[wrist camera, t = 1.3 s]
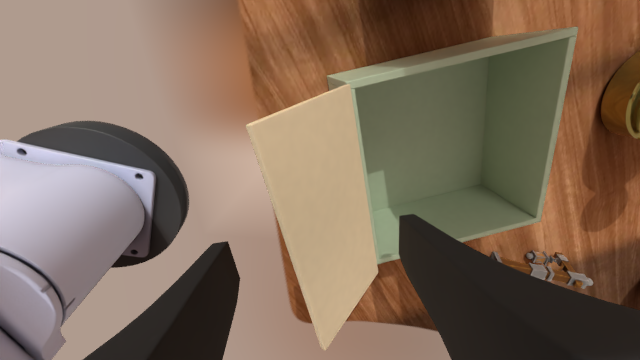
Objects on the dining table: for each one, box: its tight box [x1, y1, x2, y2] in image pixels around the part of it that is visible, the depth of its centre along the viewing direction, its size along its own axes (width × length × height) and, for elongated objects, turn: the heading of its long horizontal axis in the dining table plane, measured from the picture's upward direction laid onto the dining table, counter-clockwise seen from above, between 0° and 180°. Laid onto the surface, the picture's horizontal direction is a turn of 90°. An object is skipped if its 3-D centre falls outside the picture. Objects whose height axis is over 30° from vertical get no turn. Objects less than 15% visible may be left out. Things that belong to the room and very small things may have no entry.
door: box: [246, 84, 378, 351], centre depth 12 cm, size 6×12×1 cm
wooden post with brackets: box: [491, 250, 593, 289], centre depth 26 cm, size 2×8×4 cm, turn 90°
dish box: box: [327, 27, 578, 264], centre depth 18 cm, size 12×12×6 cm
